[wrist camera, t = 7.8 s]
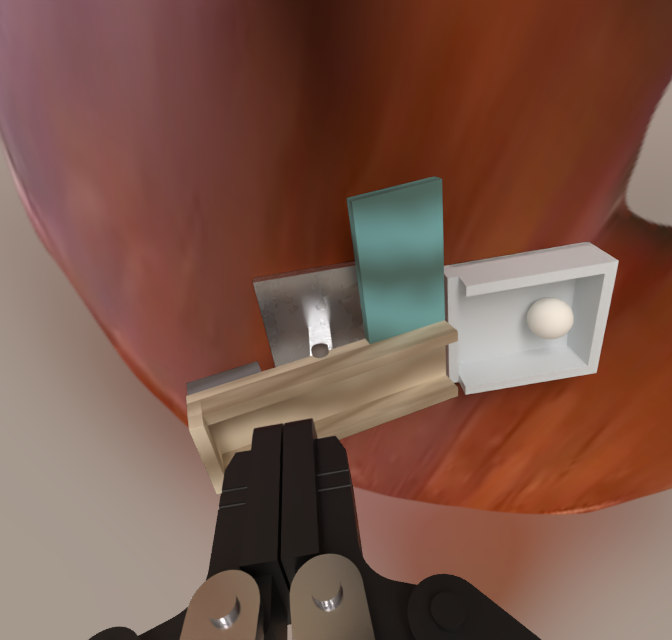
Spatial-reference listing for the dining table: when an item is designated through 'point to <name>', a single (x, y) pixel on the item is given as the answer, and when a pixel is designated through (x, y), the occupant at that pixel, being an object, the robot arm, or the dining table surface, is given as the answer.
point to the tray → (511, 316)
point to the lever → (355, 358)
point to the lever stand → (310, 310)
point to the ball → (550, 318)
